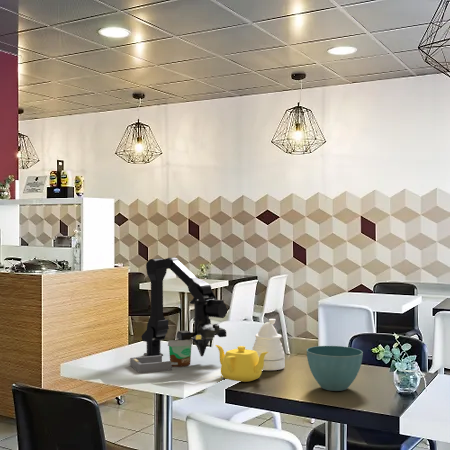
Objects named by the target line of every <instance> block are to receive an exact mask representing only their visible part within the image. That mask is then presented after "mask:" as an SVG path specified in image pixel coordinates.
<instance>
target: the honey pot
mask: <svg viewBox="0 0 450 450" xmlns="http://www.w3.org/2000/svg"><path fill="white" fill-rule="evenodd" d="M275 323H276V318H269V319H268V322H267V321H266V322H265V323H263V324H262V326H261V327H260V328H259V331H258V332H257V333H256V334H255V341H254V342H253V346H252V349H251V350H253V351H256V352H257V354H258V356H259V357H260V354H261V353H263V352H268V353H267V354H266V355H265V357H264V366H263V369H262V371H277V370H278V371H279V370H283V369H284V368H285V365H286V364H285V363H286V362H285V360H286V358H285V357H286V355H285V351H284V347H283V343H282V342H281V340H280V339H281V338H282V337H283V335H282V334H280V333H278V331H277V329H276V328H275V326H274V324H275Z"/></svg>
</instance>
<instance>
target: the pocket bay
mask: <svg viewBox="0 0 450 450" xmlns="http://www.w3.org/2000/svg"><path fill="white" fill-rule="evenodd" d="M129 358H130V359H129V362H130V363H129V366H130V367H131V368H132V369H134V370H135V371H136V372H137V373H139V374H142V373H153V372H164V370H165V371H172V368H173V367H172V362H171V361H170V360H169V361H168V360H167V361H163V356H161V355H158V356H146V355H145V356H136V357H129Z"/></svg>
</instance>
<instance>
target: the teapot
mask: <svg viewBox="0 0 450 450" xmlns="http://www.w3.org/2000/svg"><path fill="white" fill-rule="evenodd" d="M215 347H216V348H217V349H218V352H219V353H218V354H219V362H220V374H221V376H222V377H223V379H225V380H228V381H229V380H230V381H235V382H244V383H246V382H248V383H249V382H252V381H255V380H257V379H259V378H260V377H261V375H262V373H263V370H262V369H263V366H264V357H265V355H266V354H267V353H268V352H263V353H261V354H260V357H259V356H258V354H257V352H256V351H253V350H252V349H246V346H245V345H239V346H236V347H237V348H233V349H229V350H227V351H226V352H225V351H224V348H223V347H222V346H221V345H219V344H218V345H217V344H215Z"/></svg>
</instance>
